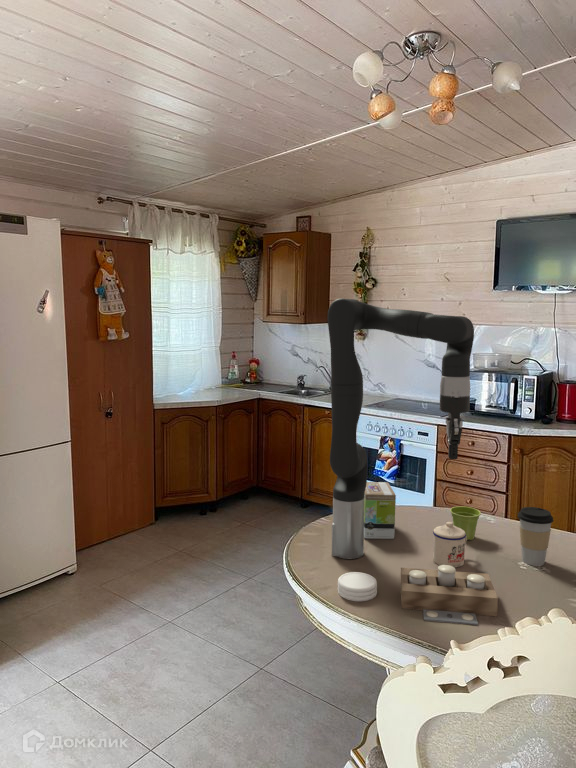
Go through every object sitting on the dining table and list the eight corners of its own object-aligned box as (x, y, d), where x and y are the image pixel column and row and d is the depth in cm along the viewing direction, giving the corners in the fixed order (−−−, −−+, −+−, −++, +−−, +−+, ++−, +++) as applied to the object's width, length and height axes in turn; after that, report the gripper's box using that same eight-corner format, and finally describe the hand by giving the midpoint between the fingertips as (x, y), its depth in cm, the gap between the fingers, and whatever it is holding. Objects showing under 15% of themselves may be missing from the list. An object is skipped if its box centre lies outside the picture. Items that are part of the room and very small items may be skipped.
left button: (409, 592, 140) (409, 576, 139) (408, 584, 144) (408, 569, 144) (426, 593, 139) (426, 578, 139) (425, 585, 143) (425, 570, 143)
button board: (401, 608, 136) (401, 590, 136) (400, 583, 149) (400, 567, 148) (497, 616, 132) (497, 598, 132) (487, 590, 145) (488, 573, 145)
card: (424, 620, 131) (424, 617, 131) (422, 610, 135) (422, 608, 135) (478, 625, 129) (478, 622, 128) (475, 615, 133) (475, 612, 133)
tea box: (395, 539, 179) (396, 494, 178) (363, 539, 179) (364, 494, 178) (387, 522, 194) (388, 480, 193) (358, 522, 194) (359, 480, 193)
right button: (467, 596, 137) (468, 581, 137) (465, 588, 142) (465, 573, 141) (485, 598, 137) (486, 582, 136) (482, 590, 141) (483, 574, 140)
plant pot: (483, 535, 182) (484, 509, 181) (475, 545, 174) (476, 518, 174) (454, 529, 187) (454, 504, 186) (445, 539, 179) (446, 512, 178)
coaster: (376, 604, 139) (376, 590, 138) (336, 600, 140) (336, 587, 140) (377, 585, 148) (377, 572, 148) (339, 582, 150) (339, 570, 150)
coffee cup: (551, 558, 165) (553, 508, 163) (551, 571, 156) (553, 519, 154) (516, 552, 169) (518, 504, 167) (514, 565, 160) (516, 514, 158)
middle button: (438, 587, 138) (438, 571, 138) (436, 579, 143) (437, 564, 142) (456, 588, 138) (456, 572, 137) (454, 580, 142) (454, 565, 141)
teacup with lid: (451, 571, 156) (452, 530, 155) (425, 560, 164) (426, 521, 162) (477, 560, 163) (479, 521, 162) (452, 550, 170) (453, 513, 169)
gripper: (437, 390, 154) (436, 452, 155) (442, 396, 141) (440, 464, 142) (466, 390, 152) (464, 453, 154) (473, 397, 139) (471, 465, 141)
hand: (452, 458), depth 148 cm, fingers closed
